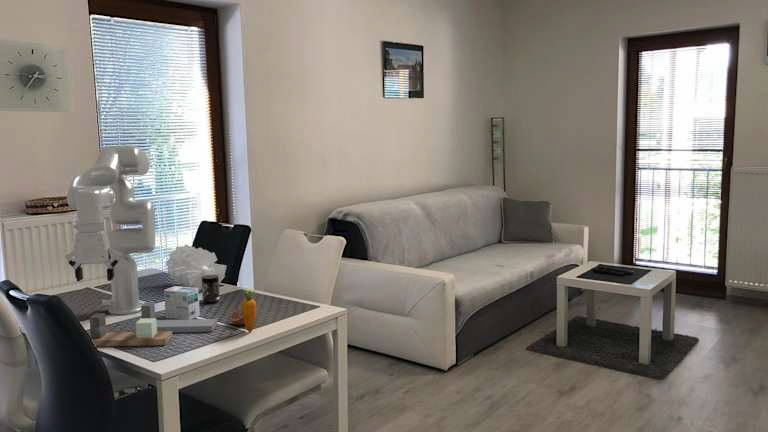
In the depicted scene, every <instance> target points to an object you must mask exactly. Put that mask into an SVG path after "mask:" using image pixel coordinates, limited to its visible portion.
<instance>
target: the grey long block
mask: <svg viewBox="0 0 768 432" xmlns="http://www.w3.org/2000/svg"><path fill="white" fill-rule="evenodd" d="M142 304H143V305H142V306H141V311H140V312H141V314H140V315H141V319H143V318H156V307H155V301H144V303H142ZM156 323H157V331H172V333H200V332H201V333H207V332H208V333H209V332H210V333H212V332H213V331H214V330H215V328H216V327H217V325H218V318H206V319H205V318H204V319H203V318H200V319H195V318H193V319H191V320H182V319H156Z"/></svg>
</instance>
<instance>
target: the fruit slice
mask: <svg viewBox="0 0 768 432" xmlns="http://www.w3.org/2000/svg"><path fill="white" fill-rule="evenodd" d="M228 320H229V321H230V322H231V323H232V324H234V325H237V326H238V325H239V326H242V325H245V324H244V320H243V316H242V311H240V310H238V309H235V308H233V310H232V311H231V312H230V314H229V317H228Z"/></svg>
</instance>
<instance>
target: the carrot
mask: <svg viewBox="0 0 768 432" xmlns="http://www.w3.org/2000/svg"><path fill="white" fill-rule="evenodd" d="M254 293H255V291H254V290H253V291H252V290H251V289H249V290H248V289H245V291H244V296H245V298H246V299H244V300H242V301H241V313H242V316H243V320H244V324H243V325H244V326H245V328H246V329H247V331H248V332H249V333H251V332H252V331H253V329H254V328H255V324H256V320H257V302H256V301H255V299H252V298H253V294H254Z"/></svg>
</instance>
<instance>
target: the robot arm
mask: <svg viewBox="0 0 768 432" xmlns="http://www.w3.org/2000/svg"><path fill="white" fill-rule="evenodd" d="M149 171H150V160H149V157H148V156H147V154H146V152H144V151H143V150H142V149H141V148H140V147H138V146H136V145H108V146H105V147H102V148H101V150H100V151H99V153H98V155H97V158H96V160H95V163H94V165H93V167H91V168H89V169H87V170H85V171H84V172H81V173H79V174H78V175H77V176H75V177H74V178H73V179H72V181H71V183H70V185H69V188H68V190H67V194H66V202H67V204H68V206H69V207H70V208H71V209H74V210H76V217H77V223H76V224H74V225H73V228H74V230H75V229H76V230H77V232H76V233H75V237H74V250H73V251H72V252H70V253H67V254H66V255H65V256H64V257H65V259H66V261H67V263H68V265H70V266H71V267H72V268H73V270H74V274H75V275H74V276H75V277H74V278H75V279H76V281H77V282H81V281H82V280H83V279H84V273H83V271H84V270H83V268H82V267H81V266H82V265H103V264H104V265H105V266H106V268H107V269H106V278H107V280H106V281H108V282H111V283H110V286H111V299H102V301H101V305H102V306H103V307H109V308H108V313H109V314H112V315H129V314H135V313H139V312H141V306H142V305H143V304H144V303H140V294H139V278H138V264H137V261H136V260H135V259H134V257H133V256H132V254H148V253H152V252H153V251H154V249H155V248H156V209H155V205H154V203H153V202H152V201H150V200H148V199H135V187H134V185H133V183H131V181H130V180H129V179H128V178H127V177H126V176H144V175H147V173H148V172H149ZM106 209H109V211H110V214H109V215H110V221H111V222H112V224H114V225H117V226H138V225H139V226H141V227H137V228H131V227H129V228H127V227H126V228H124V227H123V228H115V229H112V230H109V231H108V232H107V231H106V230H105V224H104V210H106ZM73 257H74V259H73Z"/></svg>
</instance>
